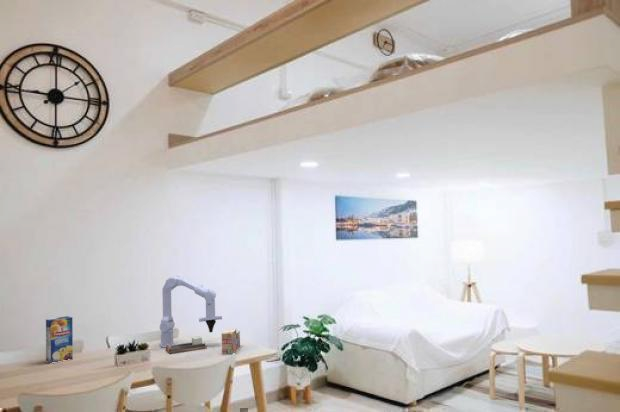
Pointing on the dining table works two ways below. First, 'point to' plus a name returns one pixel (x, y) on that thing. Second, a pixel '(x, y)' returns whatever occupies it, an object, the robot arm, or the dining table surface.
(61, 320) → the blue food box
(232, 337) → the stack of blocks
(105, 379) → the dining table surface
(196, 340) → the sage block
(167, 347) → the chute
